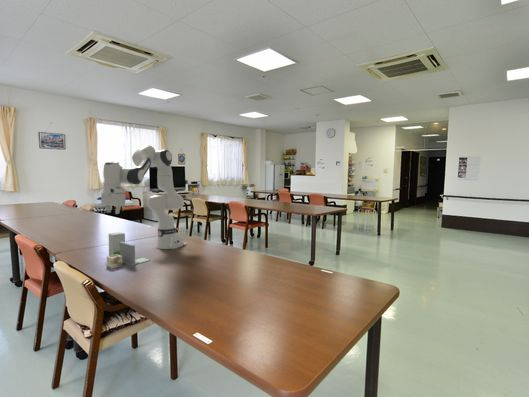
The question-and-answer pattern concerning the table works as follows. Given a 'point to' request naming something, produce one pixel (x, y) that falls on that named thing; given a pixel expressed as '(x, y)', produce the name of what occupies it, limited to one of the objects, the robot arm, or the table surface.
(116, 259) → the letter cube
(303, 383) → the table surface
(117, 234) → the skincare box
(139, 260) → the coaster
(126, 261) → the screen
